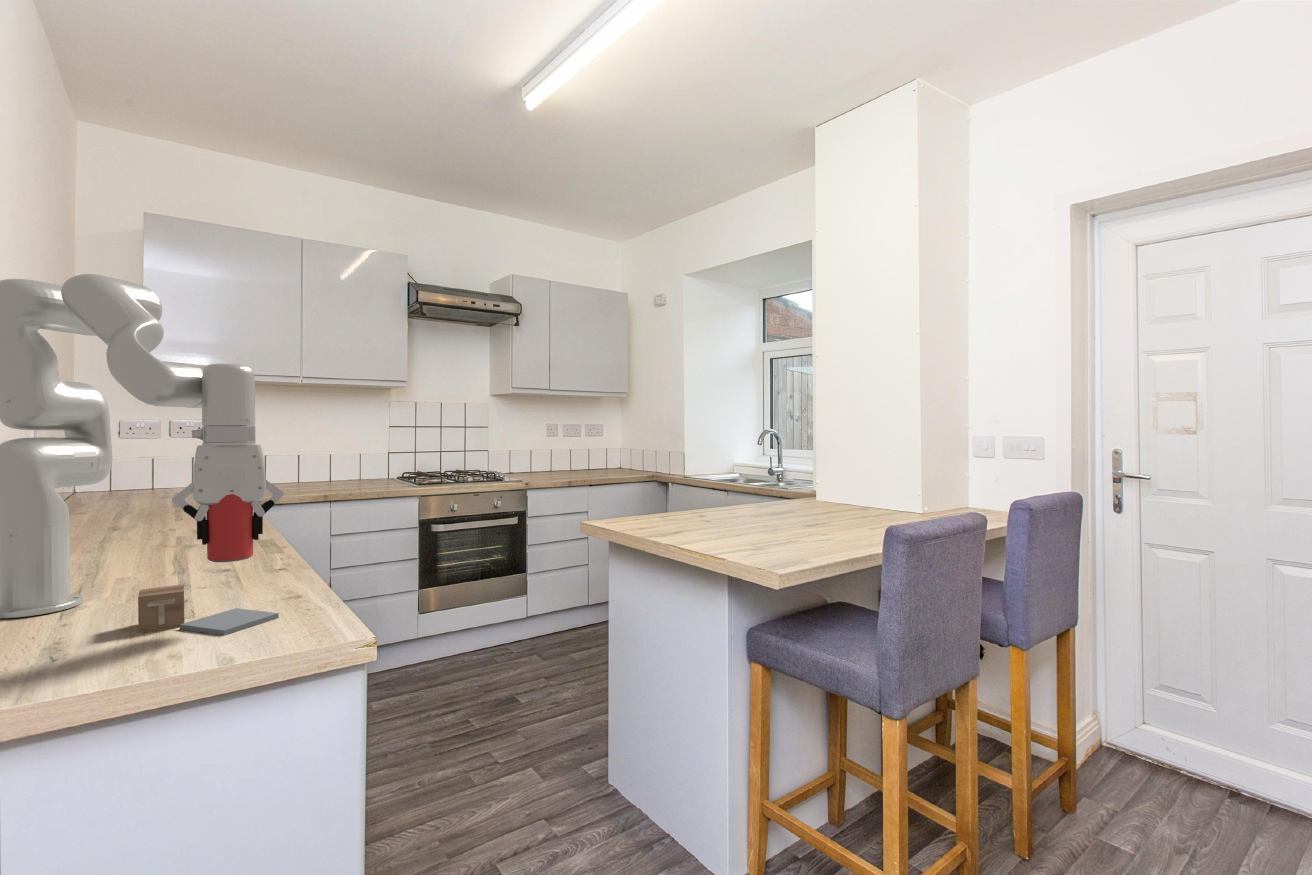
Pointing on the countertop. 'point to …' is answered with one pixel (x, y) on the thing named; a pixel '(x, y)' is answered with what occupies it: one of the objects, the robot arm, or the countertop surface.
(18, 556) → the robot arm
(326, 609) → the countertop surface
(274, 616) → the grey mat
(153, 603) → the letter block
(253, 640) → the countertop surface
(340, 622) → the countertop surface
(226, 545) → the beer can
